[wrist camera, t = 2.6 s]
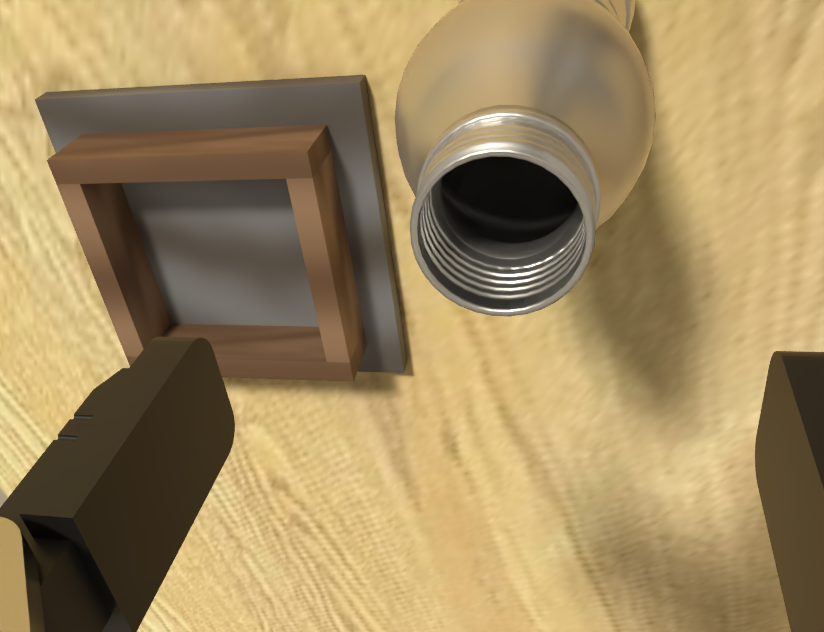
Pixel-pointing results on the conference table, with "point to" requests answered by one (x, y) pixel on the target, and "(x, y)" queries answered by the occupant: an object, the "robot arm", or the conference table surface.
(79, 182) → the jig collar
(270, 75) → the conference table surface
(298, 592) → the conference table surface
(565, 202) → the plastic bottle
